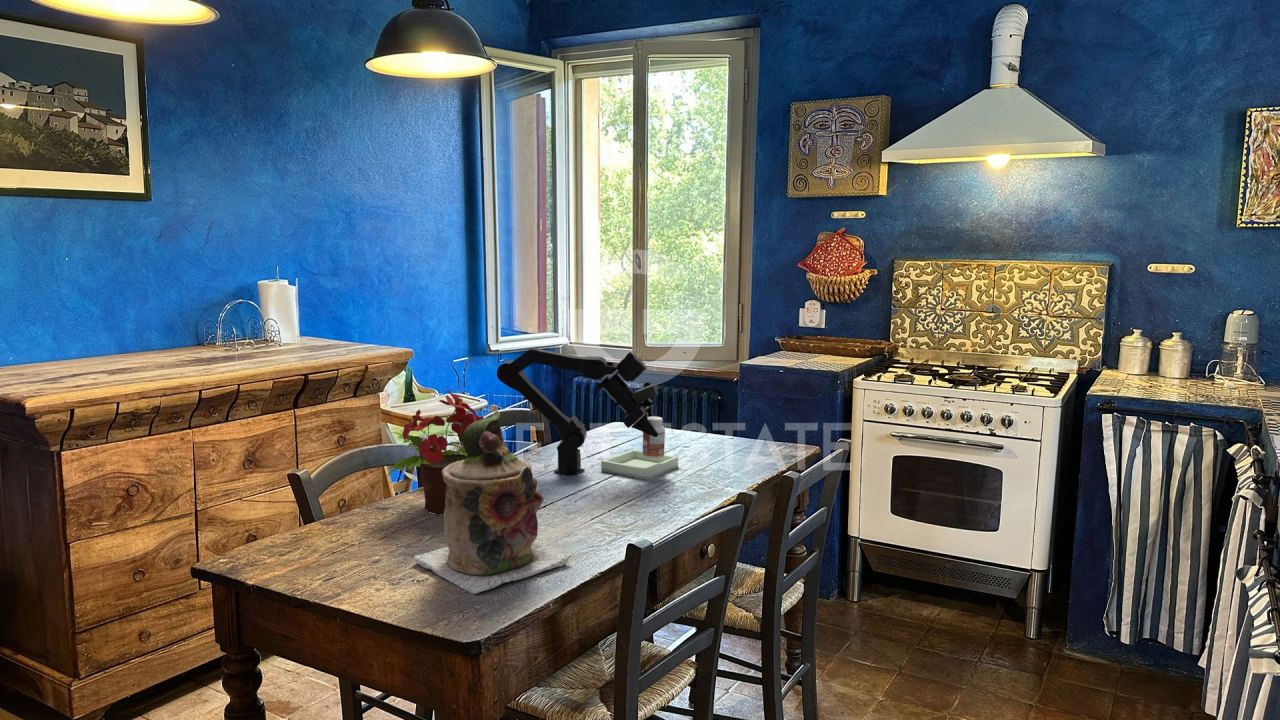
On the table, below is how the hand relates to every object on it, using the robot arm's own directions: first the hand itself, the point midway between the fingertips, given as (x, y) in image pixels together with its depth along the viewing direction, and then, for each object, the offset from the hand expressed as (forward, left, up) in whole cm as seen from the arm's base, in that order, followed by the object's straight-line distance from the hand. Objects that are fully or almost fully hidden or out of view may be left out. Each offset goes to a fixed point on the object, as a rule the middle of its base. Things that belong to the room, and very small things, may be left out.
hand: (658, 433), depth 251 cm
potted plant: (-53, +28, -12) cm, 61 cm away
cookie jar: (-76, -9, -12) cm, 78 cm away
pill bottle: (-1, +1, -7) cm, 7 cm away
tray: (+1, +7, -12) cm, 14 cm away
